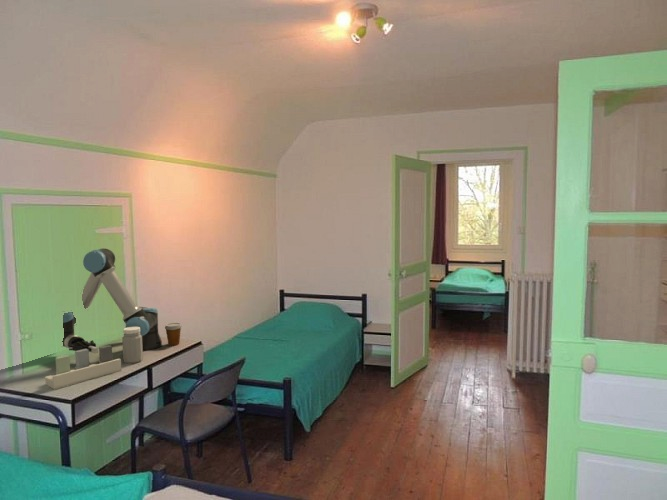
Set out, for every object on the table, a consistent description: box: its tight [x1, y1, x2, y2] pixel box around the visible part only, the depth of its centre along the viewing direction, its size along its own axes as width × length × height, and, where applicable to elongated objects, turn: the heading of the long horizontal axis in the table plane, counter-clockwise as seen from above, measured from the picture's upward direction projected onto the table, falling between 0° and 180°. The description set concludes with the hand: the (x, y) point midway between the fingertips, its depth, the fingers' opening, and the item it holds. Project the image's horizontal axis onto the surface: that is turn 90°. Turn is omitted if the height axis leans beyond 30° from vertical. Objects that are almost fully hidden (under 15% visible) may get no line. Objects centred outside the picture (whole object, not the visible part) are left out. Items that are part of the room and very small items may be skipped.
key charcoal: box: [98, 344, 114, 364], centre depth 234 cm, size 3×5×12 cm, turn 142°
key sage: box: [55, 354, 71, 375], centre depth 218 cm, size 3×5×12 cm, turn 142°
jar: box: [121, 327, 144, 365], centre depth 250 cm, size 10×10×18 cm
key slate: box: [74, 349, 90, 370], centre depth 228 cm, size 3×5×12 cm, turn 142°
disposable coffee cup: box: [164, 322, 182, 346], centre depth 282 cm, size 10×10×12 cm
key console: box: [44, 358, 122, 390], centre depth 227 cm, size 10×31×6 cm, turn 142°
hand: (96, 350), depth 240 cm, fingers closed
